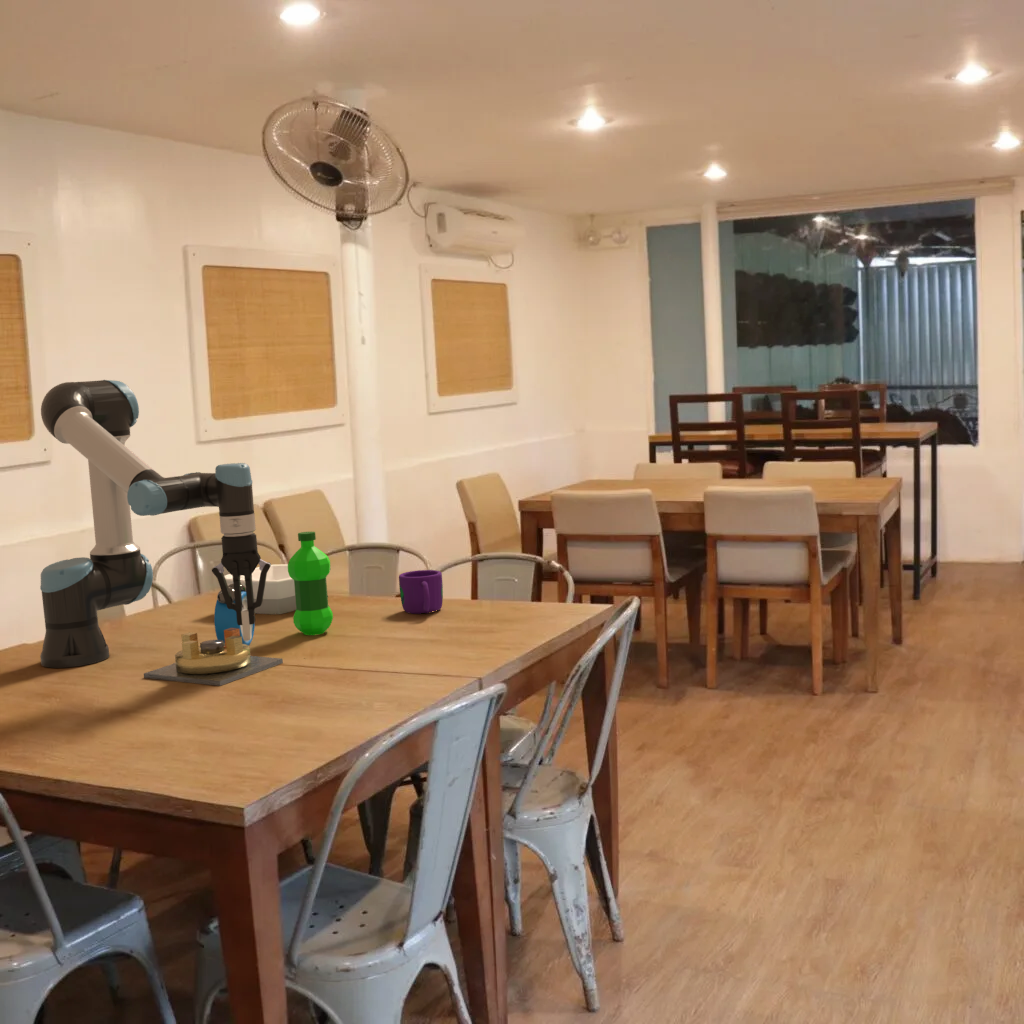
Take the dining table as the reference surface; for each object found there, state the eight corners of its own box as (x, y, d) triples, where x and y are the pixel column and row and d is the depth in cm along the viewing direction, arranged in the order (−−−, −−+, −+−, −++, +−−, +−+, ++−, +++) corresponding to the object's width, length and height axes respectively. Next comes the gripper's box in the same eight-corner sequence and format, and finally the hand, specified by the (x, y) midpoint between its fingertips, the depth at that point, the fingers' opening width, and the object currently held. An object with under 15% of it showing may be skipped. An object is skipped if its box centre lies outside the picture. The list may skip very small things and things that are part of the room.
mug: (398, 608, 327) (396, 572, 325) (441, 604, 329) (438, 568, 328) (406, 621, 310) (403, 582, 308) (450, 617, 312) (448, 578, 311)
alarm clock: (241, 653, 284) (236, 589, 282) (215, 654, 285) (210, 590, 283) (257, 640, 297) (252, 579, 295) (232, 641, 298) (227, 580, 296)
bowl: (341, 602, 341) (338, 566, 340) (279, 620, 320) (276, 582, 319) (276, 597, 354) (273, 563, 353) (213, 615, 333) (209, 578, 332)
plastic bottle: (340, 633, 299) (332, 532, 296) (297, 639, 295) (289, 537, 292) (330, 626, 308) (323, 528, 306) (289, 632, 305) (281, 532, 302)
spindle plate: (144, 677, 265) (143, 672, 265) (208, 656, 283) (208, 651, 283) (220, 685, 255) (219, 680, 254) (282, 662, 272) (282, 657, 272)
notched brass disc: (160, 670, 266) (157, 641, 265) (212, 653, 279) (209, 625, 279) (215, 676, 258) (212, 646, 257) (266, 658, 271) (263, 629, 271)
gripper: (205, 538, 264) (215, 645, 267) (266, 533, 265) (275, 640, 268) (210, 533, 272) (220, 637, 274) (270, 529, 273) (279, 633, 276)
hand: (247, 638), depth 271 cm, fingers closed
